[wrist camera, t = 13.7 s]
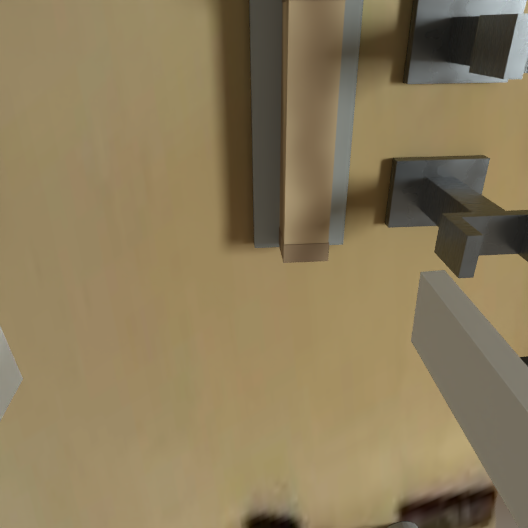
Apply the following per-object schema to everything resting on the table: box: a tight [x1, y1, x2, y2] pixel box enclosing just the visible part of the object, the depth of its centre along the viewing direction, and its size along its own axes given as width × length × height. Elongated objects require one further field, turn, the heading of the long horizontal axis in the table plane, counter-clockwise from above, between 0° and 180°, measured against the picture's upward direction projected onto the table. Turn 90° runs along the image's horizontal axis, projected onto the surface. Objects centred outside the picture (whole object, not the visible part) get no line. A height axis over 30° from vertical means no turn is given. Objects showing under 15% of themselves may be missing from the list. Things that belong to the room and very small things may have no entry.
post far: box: [385, 155, 528, 278], centre depth 34 cm, size 8×6×13 cm
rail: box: [279, 0, 345, 263], centre depth 34 cm, size 4×20×4 cm, turn 0°
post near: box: [403, 0, 528, 84], centre depth 29 cm, size 8×6×13 cm
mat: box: [249, 0, 363, 248], centre depth 36 cm, size 21×8×1 cm, turn 0°
